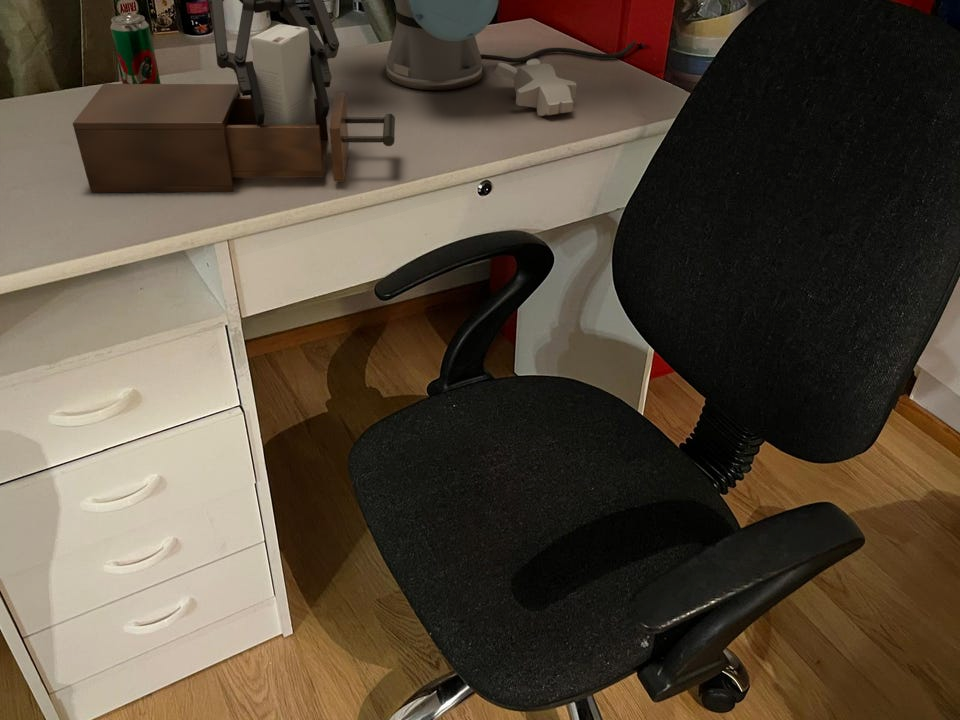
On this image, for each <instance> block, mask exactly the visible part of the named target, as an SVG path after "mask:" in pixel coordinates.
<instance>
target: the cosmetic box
mask: <svg viewBox="0 0 960 720" xmlns="http://www.w3.org/2000/svg"><path fill="white" fill-rule="evenodd" d="M250 43H251V49H252V58H253V60H252V61H253V66H254V70H255V74H256V78H257V83H258V87H259V91H260V96H261V100H262V104H263V109H264V113H265V117H264V124H261V125H316V118H315V106H314V97H315V95H314V93H315V92H314V85H313V81H312V69H311V56H310V43H309V31H308V29H307V28H303V27H297V26H290V24H289V25H288V24H281V23H279V24H276V25H274V26H272V27H270V28H268V29H266V30H264V31H262V32H261V33H258V34H256V35H254V36H251V38H250Z"/></svg>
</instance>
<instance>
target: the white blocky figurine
mask: <svg viewBox="0 0 960 720" xmlns="http://www.w3.org/2000/svg"><path fill="white" fill-rule="evenodd" d="M494 74H496V75H497V76H501V77H502V78H506V79H510V80H512V81H513V85H514V91H515V95H516V97H515V105H517V106H520V107H528V108H535V109H536V114H537V115H538V117H544V116H545V117H546V116H552V115H558V114H565V113H573V108H574V100H573V99H575V98H576V95H577V94H576V93H577V86H578V85H577V83H576V82H575V81H572V80H568V79H565V78H561V77H559V76H557V74H556V70H555V68H554V67H553V66H552V65H551V64H549V63H548V62H547V63H546V62H545V63H541V60H540V59H538V58H533V59H531V60H528V61H526V65H521V66H518V68H516V67H514V66H512V65H510V63H507V62H499V63H498V64H497V65H496V68H495V69H494Z"/></svg>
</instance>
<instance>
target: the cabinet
mask: <svg viewBox="0 0 960 720" xmlns="http://www.w3.org/2000/svg"><path fill="white" fill-rule="evenodd" d="M237 96H242V94H241V93H240V89H239V85H238V83H161V84H123V83H103V84H102V85H101V86H100V88H99V89H98V90H97V92H96V93H95V94H94V95H93V96H92V98H91V99H90V100H89V102H88V103H87V104H86V105H85V107H83V109H82V110H81V112H79V114H78V115H77V117H76V118H75V119H74V120H73V122H72V127H73V130H74V134H75V138H76V141H77V145H78V148H79V153H80V157H81V160H82V165H83V167H84V171H85V175H86V179H87V182H88V186H89V190H90V193H197V192H200V193H203V192H207V193H208V192H210V193H211V192H220V193H221V192H234V191H235V188H236V185H237V182H238V179H239V177H232V171H231V164H230V158H229V152H228V145H227V139H226V133H225V127H224V126H225V124H226V121H227V119H228V117H229V114H230V112H231V110H232V107H233V105H234V103H235V100H236V98H237Z"/></svg>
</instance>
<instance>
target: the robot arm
mask: <svg viewBox="0 0 960 720" xmlns="http://www.w3.org/2000/svg"><path fill="white" fill-rule="evenodd" d="M224 2H225V0H207V3H208V5H209V7H210V9H211V15H212V16H211V17H212V25H213V26H212V27H213V36H214V45H215V57H216V65H217V66H218V68H220V69H226V68H228V69H232V70H233V72H234V74H235V77H236V80H237V84H238V85H239V89H240V93H241V96H251V100H252V104H253V109H254V113H255V117H256V122H257V125H259V124H264V117H265V113H264V109H263V104H262V100H261V96H260V91H259V87H258V83H257V78H256V74H255V68H254V60H252V61H249V60H248V61H247V56H248V49H249V43H250V39H251V38H250V37H251V30H252V24H253V20H254V15H255V14H260V13H263V12H266V11H268V12H279V13H280V15H281V16H282V17H283V19H285V20H286V21H287V22H288V24H289V25H290V26H297V27H303V28H307V29H308V31H309V43H310V56H311V69H312V81H313V90H314V93H315V97H316V98H317V102H318V106H319V110H320V114H321V117H327V118H328V115H329V112H330V108H331V105H330V101H329V96H328V93H327V88H330V87H331V84H332V83H331V82H332V74H331V70H330V65H329V60H330V59H335V58H336V57H337V55H338V52H339V47H340V41H339V39H338V36H337V34H336V33H337V32H336V30H335V28H334V25H333V23H332V19H331V17H330V14H329V11H328V9H327V6H326V3H325V0H307V2H308V6H309V9H310V12H311V15H312V17H313V21H314V23H315V25H316V28H317V32H318V33H319V36H320V37H319V36H318V35H317V33H316V32H315V30H314V29H313V27H312V26H311V24H310V23H309V21H308V20H307V18H306V16H305V15H304V13H303V12H302V10H301V9H300V8H299V6H298V4H297V1H296V0H238V2H240V3H241V4H242V9H241V13H240V20H239V25H238V31H237V38H236V44H235V50H234V52H231V51H230V52H229V49H228V40H227V31H226V24H225V23H226V21H225V12H224V11H225V9H224ZM498 6H499V0H395V15H396V16H395V17H396V19H395V20H396V21H395V22H396V23H395V29H394V31H393V36H392V40H391V43H390V46H389V50H388V53H387V57H386V62H385V63H386V64H385V67H386V70H385V71H386V76H387V79H390V81H392V82H394V83H395V84H397V85H400V86H403V87H406V88H410V89H414V90H415V89H416V90H423V91H424V90H425V91H447V90H455V89H456V90H457V89H462V88H464V87H468V86H472V85H475V83H477V82H478V81H480V80H481V78H482V77H483V60H486V61H487V60H489V61H499V62H503V63H510V64H512V63H513V64H517V63H525V62H527V61H529V60H531V59H536V58H537V57H539V56H541V55H544V54H550V53H566V54H573V55H579V56H584V57H590V58H597V59H616V58H620V57H623V56H625V55H627V54H628V53H629V52H630V51H631V50H632V49H633V48H634V47H635V46H637V47H638V48H639V49H645V45H644V44H643V42H641V43H640V44H637V45H635V44H636V43H635V42H632V41H631V42H632V43H631V42H630V43H629V44H628V45H627V47H625V48H624V49H623V50H620V51H618V52H614V53H602V52H593V51H588V50H582V49H578V48H577V49H576V48H570V47H547V48H542V49H539V50H536V51H535V52H532V53H530V54H528V55H525V56H522V57H510V56H509V57H508V56H502V55H496V54H485V53H484V54H483V53H480V49H479V45H478V43H477V39H476V36H478V35H479V34H481V32H483V31H484V30H485V29H486V28H487V27H488V26H489V25H490V24H491V22H492V20H493V18H494V17H495V15H496V12H497V10H498ZM634 45H635V46H634Z"/></svg>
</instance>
